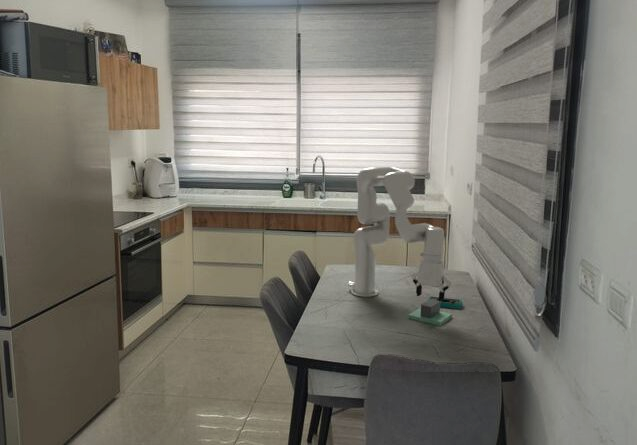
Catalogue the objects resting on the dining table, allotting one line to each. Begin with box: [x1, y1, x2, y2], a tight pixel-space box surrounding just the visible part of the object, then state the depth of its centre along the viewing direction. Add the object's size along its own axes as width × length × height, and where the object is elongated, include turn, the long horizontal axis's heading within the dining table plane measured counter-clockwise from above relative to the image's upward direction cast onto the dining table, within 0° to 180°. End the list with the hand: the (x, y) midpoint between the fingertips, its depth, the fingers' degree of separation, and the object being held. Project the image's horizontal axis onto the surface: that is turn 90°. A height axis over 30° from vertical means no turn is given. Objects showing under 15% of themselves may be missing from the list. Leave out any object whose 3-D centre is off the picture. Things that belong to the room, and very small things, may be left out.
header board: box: [407, 307, 453, 326], centre depth 224 cm, size 14×12×4 cm
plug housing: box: [420, 299, 441, 319], centre depth 224 cm, size 4×9×5 cm, turn 145°
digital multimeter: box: [427, 296, 463, 310], centre depth 241 cm, size 7×15×3 cm, turn 72°
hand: (429, 297), depth 224 cm, fingers open, 9 cm apart
